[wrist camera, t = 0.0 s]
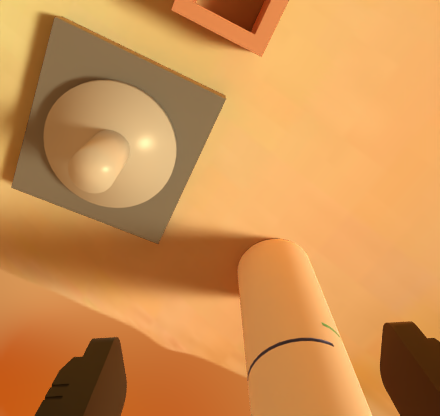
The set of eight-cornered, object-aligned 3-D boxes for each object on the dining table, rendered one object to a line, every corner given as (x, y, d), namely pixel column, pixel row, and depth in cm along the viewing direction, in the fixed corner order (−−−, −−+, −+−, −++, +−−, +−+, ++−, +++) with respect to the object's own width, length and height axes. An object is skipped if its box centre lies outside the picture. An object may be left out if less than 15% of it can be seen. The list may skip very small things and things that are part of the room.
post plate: (62, 16, 27) (13, 14, 21) (225, 95, 30) (228, 116, 23) (19, 180, 33) (-31, 221, 26) (160, 235, 35) (147, 285, 29)
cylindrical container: (251, 230, 35) (318, 593, 13) (321, 249, 36) (497, 616, 14) (227, 289, 38) (247, 669, 16) (293, 305, 39) (400, 683, 17)
